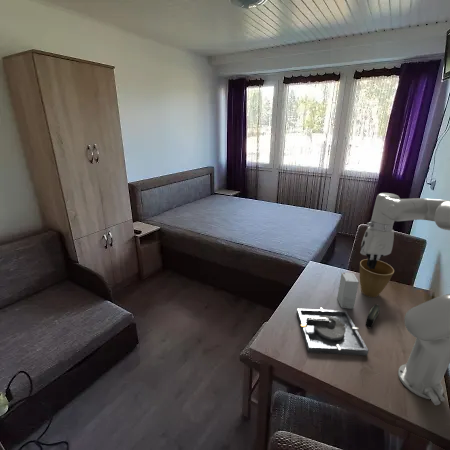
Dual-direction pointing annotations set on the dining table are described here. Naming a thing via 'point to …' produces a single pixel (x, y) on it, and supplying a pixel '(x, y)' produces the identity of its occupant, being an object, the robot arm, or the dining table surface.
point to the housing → (318, 344)
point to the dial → (327, 327)
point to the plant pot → (374, 277)
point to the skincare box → (347, 290)
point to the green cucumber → (372, 315)
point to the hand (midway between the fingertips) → (370, 267)
